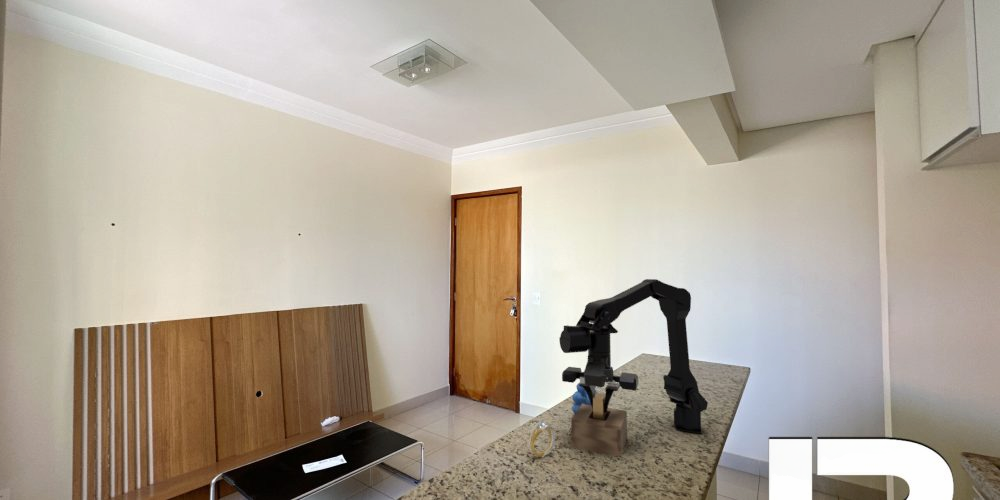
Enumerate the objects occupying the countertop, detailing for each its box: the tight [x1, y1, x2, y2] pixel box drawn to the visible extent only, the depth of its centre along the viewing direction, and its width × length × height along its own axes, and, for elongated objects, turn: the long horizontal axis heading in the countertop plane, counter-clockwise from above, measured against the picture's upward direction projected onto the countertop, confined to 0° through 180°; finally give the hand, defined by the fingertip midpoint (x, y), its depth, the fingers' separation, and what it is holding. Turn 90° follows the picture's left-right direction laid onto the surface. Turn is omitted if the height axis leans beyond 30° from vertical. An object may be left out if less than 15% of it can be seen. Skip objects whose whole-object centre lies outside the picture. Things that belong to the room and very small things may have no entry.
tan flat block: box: [593, 392, 606, 420], centre depth 100 cm, size 2×5×5 cm, turn 155°
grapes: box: [571, 381, 598, 415], centre depth 117 cm, size 12×7×12 cm, turn 134°
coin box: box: [570, 404, 628, 458], centre depth 100 cm, size 12×12×7 cm
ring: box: [528, 420, 556, 458], centre depth 92 cm, size 7×3×8 cm, turn 118°
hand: (599, 411), depth 100 cm, fingers closed on tan flat block, 2 cm apart
